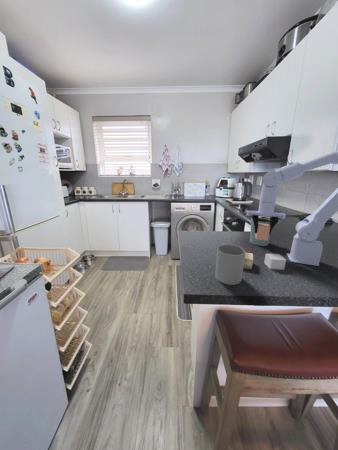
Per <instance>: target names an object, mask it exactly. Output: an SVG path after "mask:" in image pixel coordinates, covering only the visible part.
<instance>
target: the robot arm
mask: <svg viewBox="0 0 338 450" xmlns="http://www.w3.org/2000/svg"><path fill="white" fill-rule="evenodd" d="M331 164H332V165H338V150H334V151H332V152H330V153H327V154H323V155H322V156H319V157H316V158H313V159H311V160H308V161H306V162H303V163H299V162H297V161H296V162H293V161H291V162H289V163H288V164H287V165H284V166H282V167H279V168H278V167H276V168H274V170H270V171H268V172H266V173H265V174H264V175H263V178H262V182H263V183H262V186H261V191H260V197H259V204H258V210H246V216H247V217H250V216H251V218H253V222H254V227H255V233H257V227H258V221H259V218H269V219H270V223H269V225H270V232H269V235H270V234H272V231H273V229H274V227H275V226H276V225H277V223H279V221H280V220H279V219H283V220H286V217H287V213H284V212H275V206H276V201H277V200H276V199H277V193H278V185H279V183H281V184H282V183H285V182H289V181H293V180H295V179H298V178H301V177H302V176H303V174H304V173H305V172H308V171H311V170H314V169H317V168H321V167H325V166H326V165H327V166H328V165H331ZM337 212H338V187H337V188H336V189H335V190H334V191H333V192H331V194H330V195H329V196H328V197H327V198H326V199H325V200H324V201H323V202H322V203H321V204H320V206H319V207H318V208H316V209H315V211H313V213H311V214H310V215H307V216H306V217H305V218H304V219H303V220H300V221H299V222H297V223H296V225H295V228H294V229H295V231H296V234H295V235H293V239H292V244H291V248H290V252H289V253H286V256H287V258H288V259H289V261H290V262H291V263H295V264H296V263H297V264H303V265H310V266H316V267H320V261H321V257H322V253H323V247H324V245H323V243H322V241H320V240H317V239H318V238H319V236H320V233H321V231H322V230H323V229H324V227H325V224H326V223H327V221H329V220H330V219H331V218H332V217H333V216H335V215H334V214H336V213H337ZM270 236H271V235H270Z"/></svg>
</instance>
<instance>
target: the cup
mask: <svg viewBox="0 0 338 450" xmlns="http://www.w3.org/2000/svg"><path fill="white" fill-rule="evenodd" d="M216 252H217V253H216V260H215V261H216V263H215V273H214V278H215V279H216V280H217V281H218V282H220V283H221V284H225V285H228V286H232V285H233V286H234V285H236V286H237V285H239V284H240V283H241V282H242V278H243V273H244V272H243V271H244V268H243V266H244V259H245V252H246V250H245V249H244V248H242V247H240V246H238V245H232V244H222V245H221V244H220V245H219V246H217V251H216Z"/></svg>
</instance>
